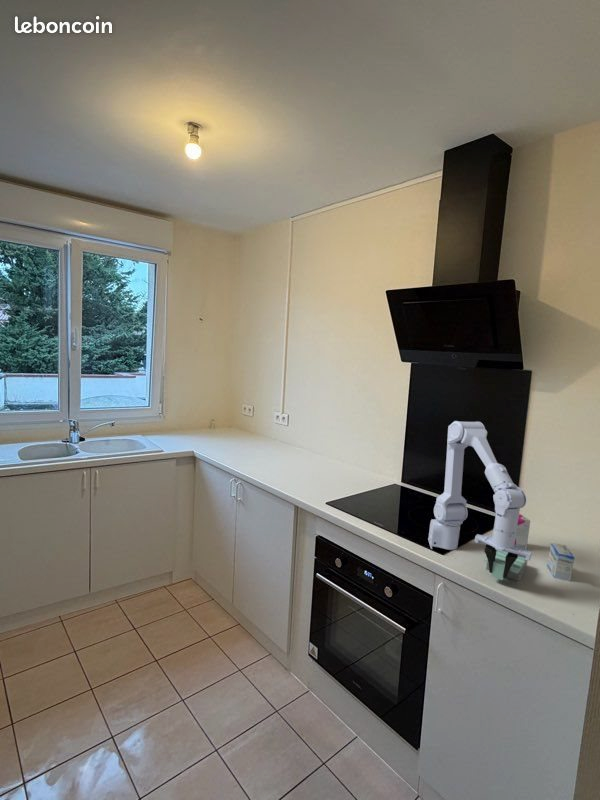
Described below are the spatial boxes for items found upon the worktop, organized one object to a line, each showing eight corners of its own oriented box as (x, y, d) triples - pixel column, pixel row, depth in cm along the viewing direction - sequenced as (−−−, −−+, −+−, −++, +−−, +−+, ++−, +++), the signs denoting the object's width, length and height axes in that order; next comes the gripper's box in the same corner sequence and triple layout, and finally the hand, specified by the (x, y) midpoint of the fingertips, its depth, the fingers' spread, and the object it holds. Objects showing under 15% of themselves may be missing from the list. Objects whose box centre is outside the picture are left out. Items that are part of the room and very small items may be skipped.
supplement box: (516, 544, 147) (521, 513, 146) (526, 552, 141) (531, 520, 140) (501, 543, 147) (505, 512, 146) (510, 551, 141) (514, 519, 140)
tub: (485, 571, 126) (487, 558, 126) (495, 559, 135) (497, 546, 134) (518, 584, 121) (520, 569, 120) (525, 570, 129) (528, 557, 129)
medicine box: (546, 567, 132) (550, 542, 131) (562, 571, 131) (566, 545, 130) (553, 580, 125) (558, 553, 123) (570, 584, 123) (575, 556, 122)
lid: (480, 571, 121) (482, 557, 120) (493, 554, 132) (495, 541, 132) (514, 584, 115) (516, 570, 115) (525, 566, 127) (527, 552, 126)
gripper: (474, 524, 118) (467, 569, 120) (530, 542, 109) (523, 590, 111) (481, 518, 124) (475, 560, 126) (535, 534, 115) (528, 580, 117)
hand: (498, 574), depth 119 cm, fingers closed on lid, 3 cm apart
